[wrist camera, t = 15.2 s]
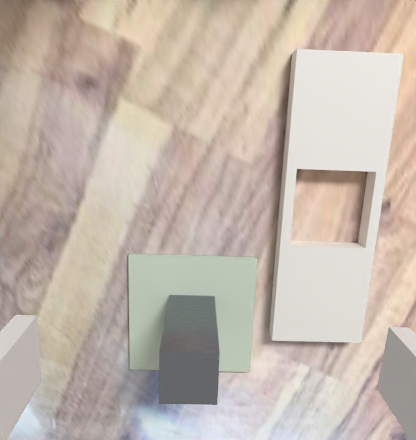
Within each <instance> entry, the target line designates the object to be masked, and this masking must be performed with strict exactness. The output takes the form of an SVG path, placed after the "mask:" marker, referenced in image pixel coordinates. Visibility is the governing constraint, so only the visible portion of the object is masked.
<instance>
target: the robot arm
mask: <svg viewBox="0 0 416 440" xmlns="http://www.w3.org/2000/svg"><path fill="white" fill-rule="evenodd" d="M41 381H42V376H41V363H40V350H39V336H38V323H37V316H30V315H15V316H14V317H13V318H12V320H11V321H10V322H9V323H8V324H7V325H6V326H5V327H4V328H3V329H2V330H1V332H0V440H7V438H8V436H9V435H10V433H11V431H12V430H13V428H14V426H15V425H16V423H17V421H18V419H19V418H20V416H21V414H22V413H23V411H24V409H25V408H26V406H27V404H28V403H29V401H30V399H31V397H32V396H33V394H34V392H35V391H36V389H37V387H38V386H39V384H40V382H41ZM377 390H378V391H379V393H380V394H381V396H382V397H383V399H384V400H385V402H386V403H387V405H388V406H389V408H390V409H391V411H392V413H393V414H394V416H395V417H396V419H397V420H398V422H399V423H400V425H401V426H402V428H403V429H404V431H405V432H406V434H407V435H408V437H409V439H410V440H416V334H415V333H414V332H413V331H412V330H411V329H410V328H405V327H389V330H388V335H387V340H386V345H385V350H384V355H383V360H382V365H381V370H380V375H379V380H378V385H377Z"/></svg>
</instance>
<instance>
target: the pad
mask: <svg viewBox="0 0 416 440" xmlns="http://www.w3.org/2000/svg"><path fill="white" fill-rule="evenodd" d="M257 263H258V258H257V257H237V256H203V255H169V254H135V253H129V255H128V270H129V355H130V370H159V350H160V345H161V339H162V334H163V328H164V323H165V317H166V312H167V306H168V301H169V295H196V296H215V306H216V317H217V328H218V340H219V351H220V356H219V371H227V372H250V360H251V346H252V332H253V318H254V304H255V291H256V277H257Z"/></svg>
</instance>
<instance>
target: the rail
mask: <svg viewBox="0 0 416 440" xmlns="http://www.w3.org/2000/svg"><path fill="white" fill-rule="evenodd" d="M403 56H404V54H395V53H373V52H351V51H329V50H307V49H297V50H295V51H294V52H293V53H292V60H291V72H290V84H289V96H288V108H287V120H286V132H285V144H284V156H283V168H282V180H281V192H280V204H279V216H278V228H277V240H276V252H275V264H274V276H273V288H272V300H271V312H270V324H269V333H270V336H271V339H272V341H312V342H356V343H361V340H362V333H363V327H364V320H365V313H366V306H367V300H368V293H369V286H370V279H371V273H372V266H373V259H374V252H375V245H376V239H377V232H378V225H379V218H380V212H381V205H382V198H383V191H384V185H385V178H386V171H387V164H388V157H389V151H390V144H391V137H392V130H393V124H394V117H395V110H396V103H397V97H398V90H399V83H400V76H401V69H402V63H403ZM297 169H312V170H340V171H367V179H366V187H365V194H364V202H363V209H362V216H361V224H360V231H359V238H358V243H351V242H318V241H290V238H291V227H292V217H293V206H294V195H295V184H296V173H297Z"/></svg>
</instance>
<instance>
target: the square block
mask: <svg viewBox="0 0 416 440" xmlns="http://www.w3.org/2000/svg"><path fill="white" fill-rule="evenodd" d="M219 356H220V351H219V340H218V328H217V317H216V306H215V296H196V295H169V301H168V306H167V312H166V317H165V323H164V328H163V334H162V339H161V345H160V350H159V404H212V405H217V396H218V376H219Z"/></svg>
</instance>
